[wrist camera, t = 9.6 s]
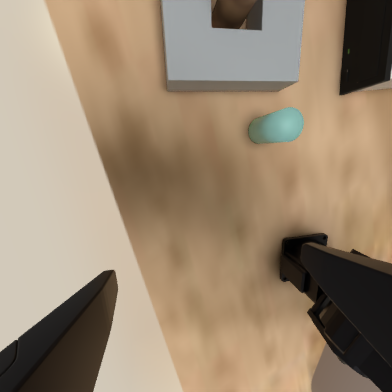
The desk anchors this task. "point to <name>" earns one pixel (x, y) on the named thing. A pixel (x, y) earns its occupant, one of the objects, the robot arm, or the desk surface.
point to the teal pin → (277, 126)
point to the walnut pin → (231, 13)
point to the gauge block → (232, 47)
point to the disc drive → (367, 46)
